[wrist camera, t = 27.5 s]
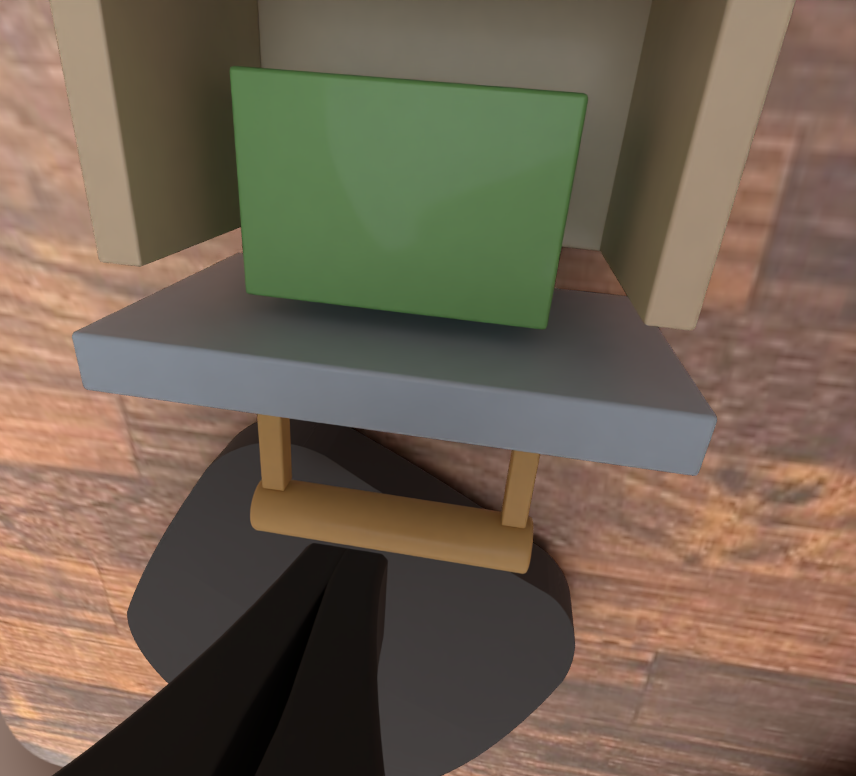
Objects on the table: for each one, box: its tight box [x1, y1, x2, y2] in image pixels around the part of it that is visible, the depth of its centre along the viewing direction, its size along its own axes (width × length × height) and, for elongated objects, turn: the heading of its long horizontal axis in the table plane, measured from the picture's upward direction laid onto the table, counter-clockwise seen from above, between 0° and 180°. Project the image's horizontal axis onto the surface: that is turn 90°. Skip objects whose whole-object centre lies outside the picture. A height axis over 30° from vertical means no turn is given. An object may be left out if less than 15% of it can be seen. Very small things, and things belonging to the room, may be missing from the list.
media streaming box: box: [127, 419, 575, 776], centre depth 21 cm, size 15×15×3 cm
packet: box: [230, 66, 588, 330], centre depth 12 cm, size 6×4×4 cm, turn 86°
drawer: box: [49, 0, 796, 574], centre depth 11 cm, size 17×11×7 cm, turn 176°
